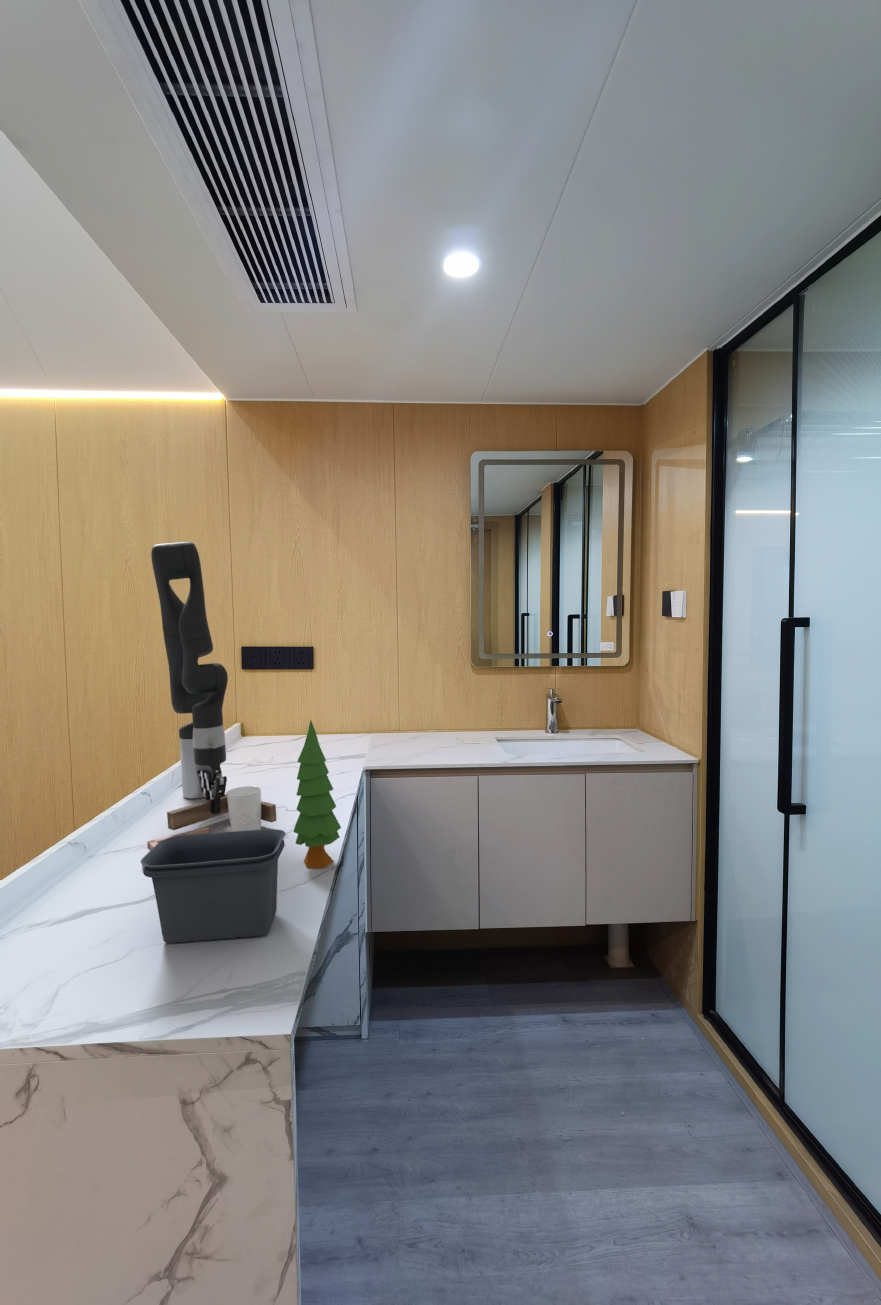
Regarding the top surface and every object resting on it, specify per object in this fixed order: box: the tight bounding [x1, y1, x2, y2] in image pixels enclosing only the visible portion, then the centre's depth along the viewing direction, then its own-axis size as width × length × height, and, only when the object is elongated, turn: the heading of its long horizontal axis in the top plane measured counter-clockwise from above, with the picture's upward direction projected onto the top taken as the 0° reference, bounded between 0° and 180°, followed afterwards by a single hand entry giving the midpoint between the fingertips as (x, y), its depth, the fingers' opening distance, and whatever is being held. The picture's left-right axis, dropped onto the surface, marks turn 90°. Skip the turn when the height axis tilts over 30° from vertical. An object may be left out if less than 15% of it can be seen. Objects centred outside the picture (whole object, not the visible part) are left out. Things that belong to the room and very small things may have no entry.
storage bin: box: [140, 828, 286, 944], centre depth 106 cm, size 21×16×14 cm
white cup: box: [225, 785, 262, 832], centre depth 151 cm, size 8×8×10 cm
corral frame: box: [146, 826, 210, 850], centre depth 143 cm, size 15×14×1 cm
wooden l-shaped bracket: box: [166, 793, 277, 831], centre depth 151 cm, size 19×17×4 cm
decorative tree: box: [293, 719, 342, 869], centre depth 130 cm, size 10×9×30 cm
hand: (213, 811), depth 159 cm, fingers closed on wooden l-shaped bracket, 2 cm apart
